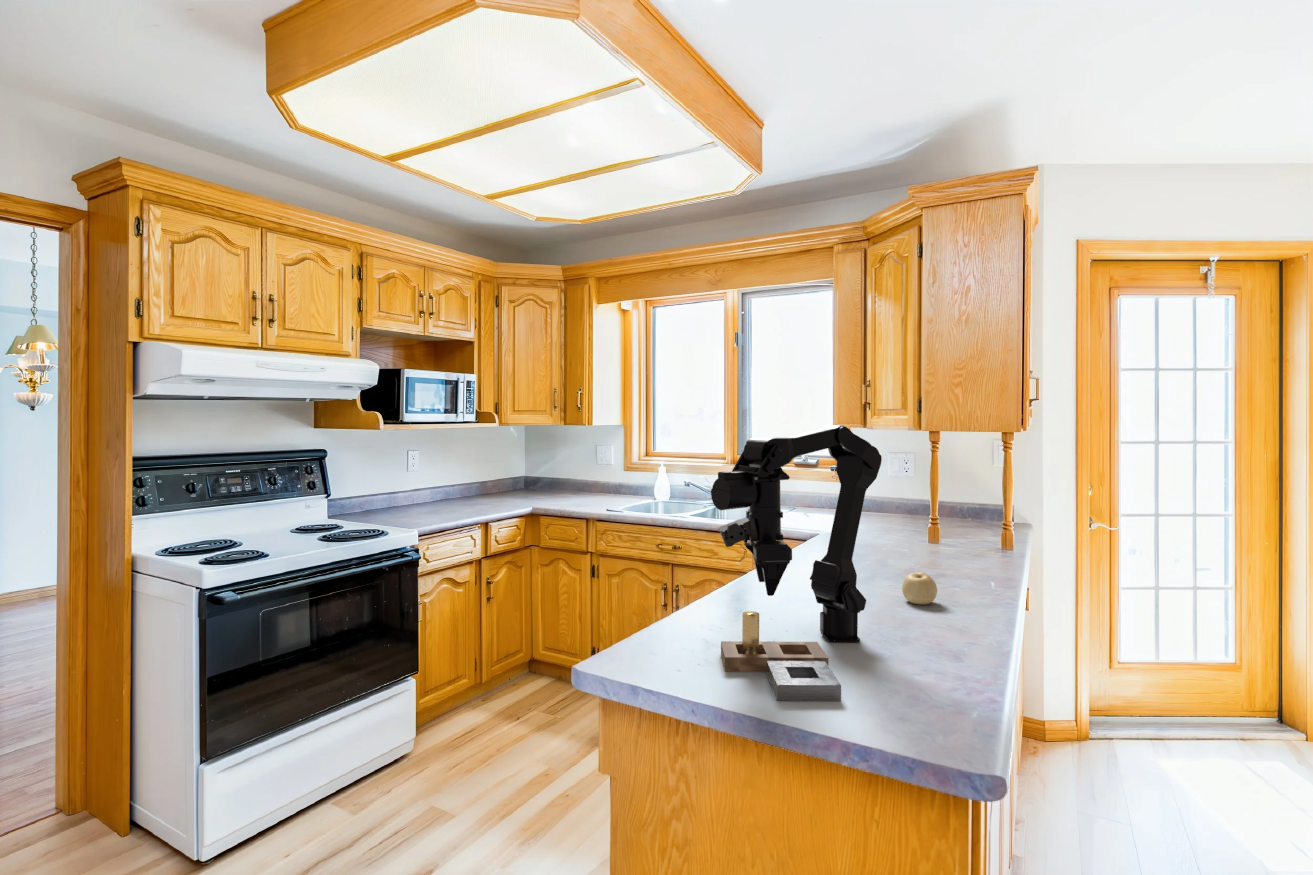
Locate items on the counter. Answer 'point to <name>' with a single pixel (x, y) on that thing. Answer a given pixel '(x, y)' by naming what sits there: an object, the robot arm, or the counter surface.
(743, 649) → the peg
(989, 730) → the counter surface
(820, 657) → the rack
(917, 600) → the apple
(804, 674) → the socket block
